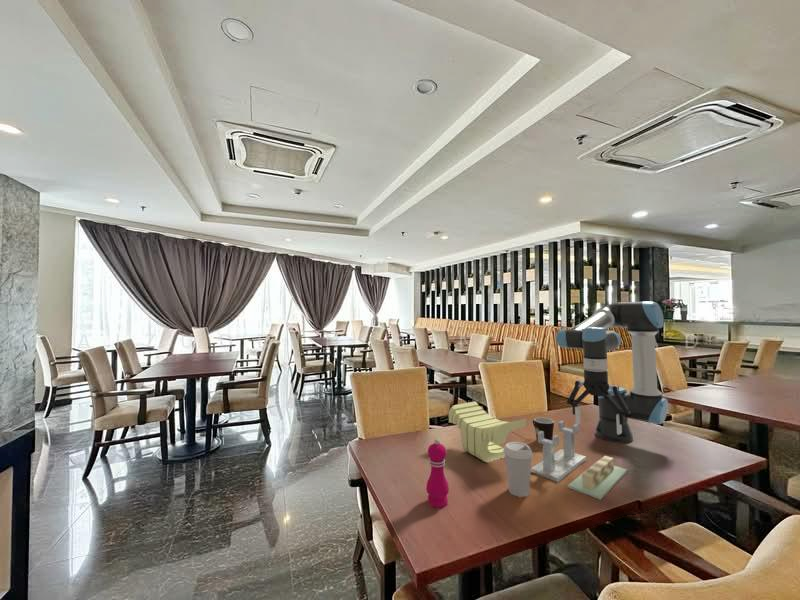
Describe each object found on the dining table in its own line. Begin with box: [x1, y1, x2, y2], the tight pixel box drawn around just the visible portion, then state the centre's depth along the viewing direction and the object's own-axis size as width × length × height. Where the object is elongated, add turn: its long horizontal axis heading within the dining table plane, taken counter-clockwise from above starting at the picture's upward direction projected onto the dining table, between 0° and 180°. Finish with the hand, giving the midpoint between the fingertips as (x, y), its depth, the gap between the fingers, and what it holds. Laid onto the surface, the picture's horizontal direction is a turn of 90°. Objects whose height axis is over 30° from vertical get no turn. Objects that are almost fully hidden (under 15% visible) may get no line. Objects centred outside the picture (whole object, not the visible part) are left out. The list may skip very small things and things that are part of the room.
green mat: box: [567, 460, 628, 501], centre depth 120 cm, size 28×10×1 cm, turn 131°
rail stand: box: [530, 420, 587, 483], centre depth 131 cm, size 26×10×14 cm, turn 131°
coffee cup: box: [503, 441, 534, 498], centre depth 112 cm, size 10×10×15 cm
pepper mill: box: [426, 438, 450, 509], centre depth 107 cm, size 7×7×20 cm
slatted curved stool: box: [448, 401, 527, 463], centre depth 142 cm, size 30×16×18 cm, turn 28°
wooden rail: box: [581, 455, 615, 489], centre depth 120 cm, size 22×3×4 cm, turn 131°
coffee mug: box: [532, 417, 555, 445], centre depth 156 cm, size 12×9×10 cm
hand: (597, 428), depth 121 cm, fingers open, 13 cm apart
